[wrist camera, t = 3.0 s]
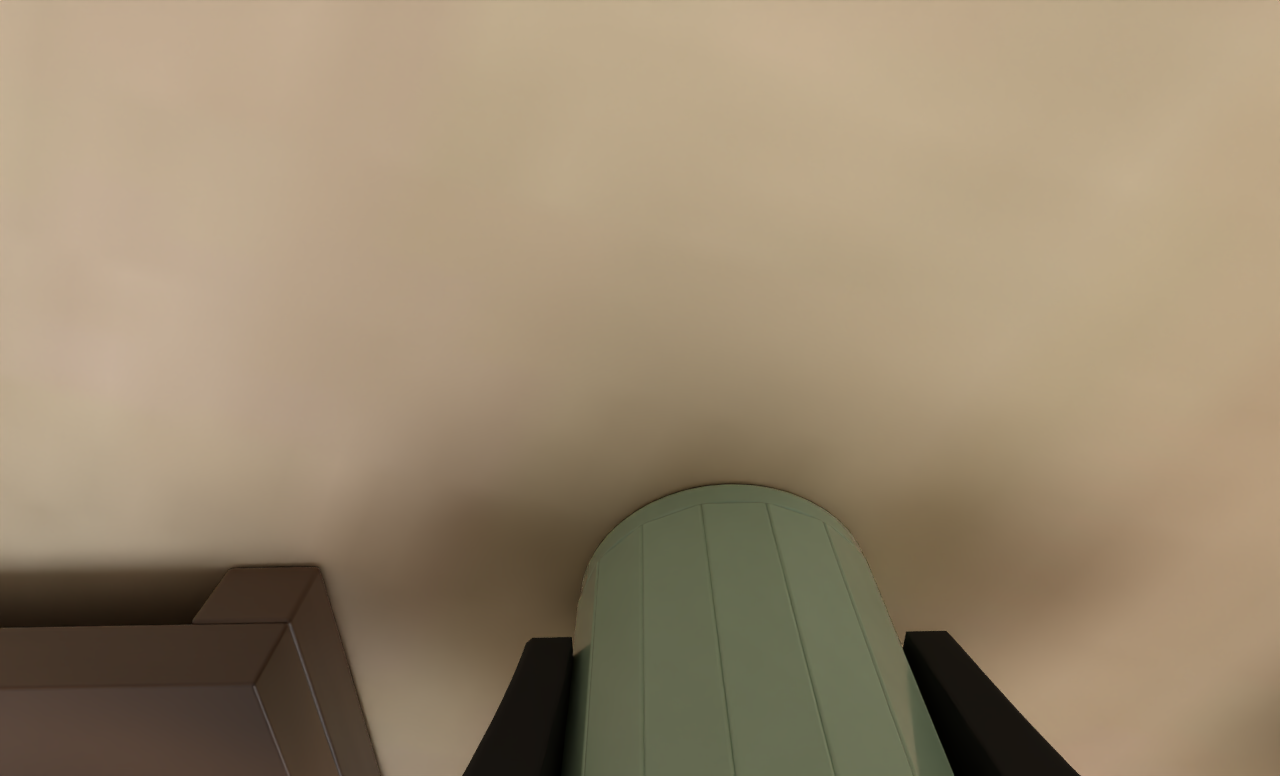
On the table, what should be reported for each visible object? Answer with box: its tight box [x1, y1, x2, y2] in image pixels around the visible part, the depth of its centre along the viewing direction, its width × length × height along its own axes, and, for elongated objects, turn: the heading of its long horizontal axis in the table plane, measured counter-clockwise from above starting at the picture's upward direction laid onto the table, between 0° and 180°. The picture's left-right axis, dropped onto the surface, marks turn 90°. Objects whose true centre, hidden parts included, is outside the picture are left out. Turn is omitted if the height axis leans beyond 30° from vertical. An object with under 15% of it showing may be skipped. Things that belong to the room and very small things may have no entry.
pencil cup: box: [560, 484, 955, 776], centre depth 10 cm, size 5×5×6 cm
